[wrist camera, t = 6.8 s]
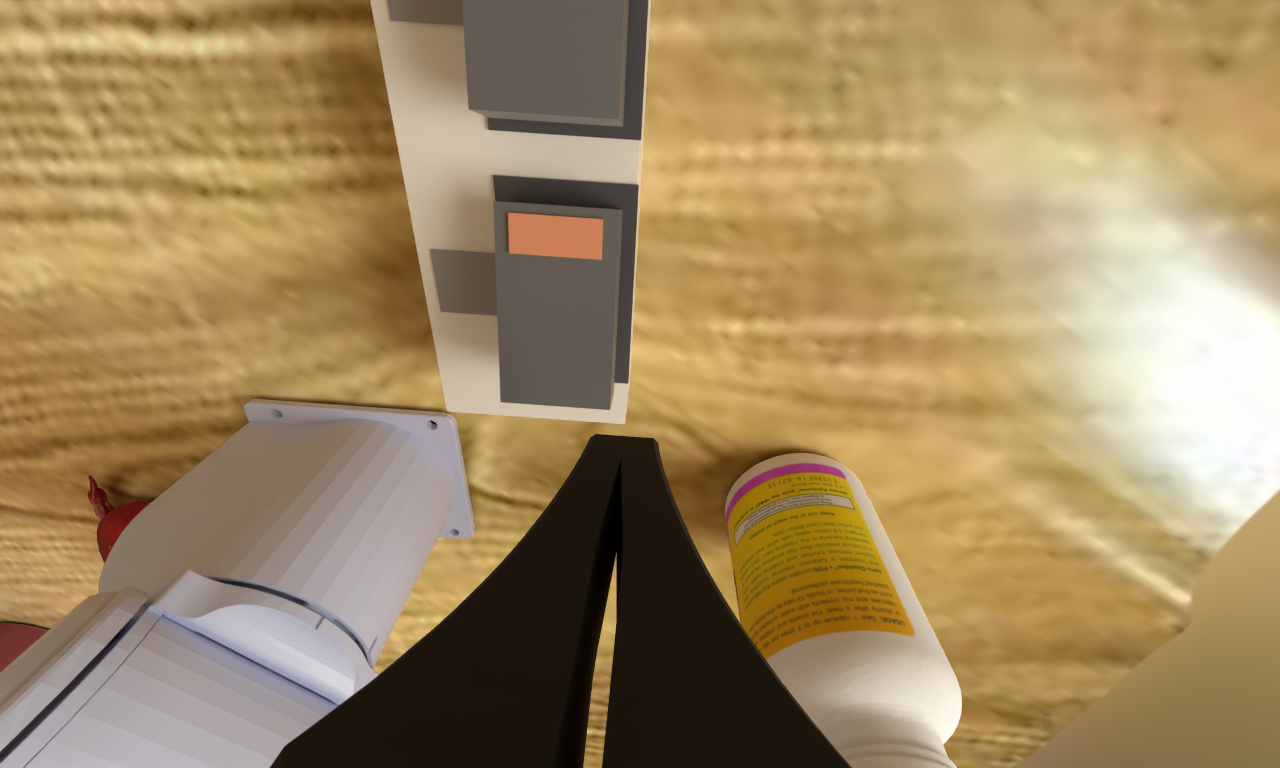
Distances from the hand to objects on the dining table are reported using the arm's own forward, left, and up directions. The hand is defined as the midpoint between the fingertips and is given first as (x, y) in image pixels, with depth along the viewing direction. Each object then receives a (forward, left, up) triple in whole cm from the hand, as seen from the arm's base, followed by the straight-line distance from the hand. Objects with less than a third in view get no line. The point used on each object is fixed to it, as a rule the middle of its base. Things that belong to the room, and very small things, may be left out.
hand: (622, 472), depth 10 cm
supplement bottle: (+8, -10, -10) cm, 16 cm away
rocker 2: (-2, +2, -5) cm, 6 cm away
